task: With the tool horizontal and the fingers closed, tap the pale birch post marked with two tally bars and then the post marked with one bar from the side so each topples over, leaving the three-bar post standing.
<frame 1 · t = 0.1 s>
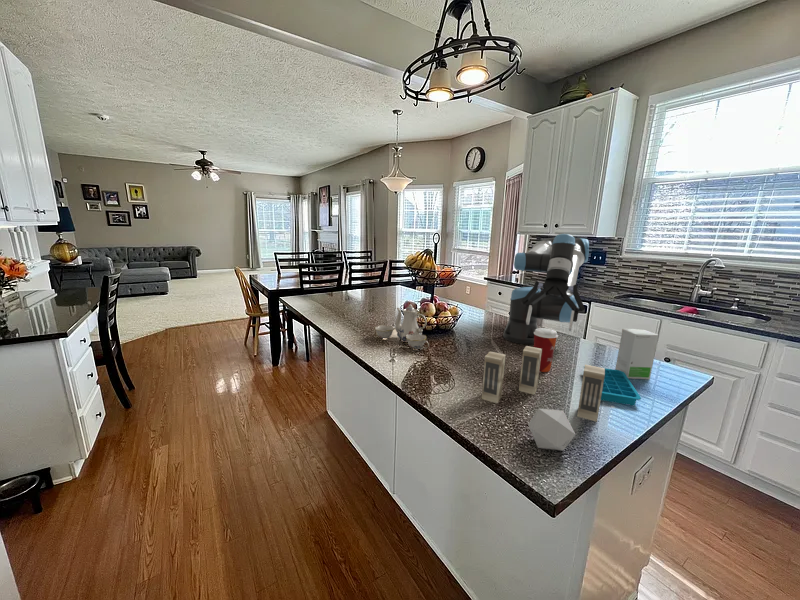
hand: (548, 326, 112), 15 cm above the countertop, tool tilted 35°, fingers open, 13 cm apart
post 2: (491, 397, 94), on the countertop
paper cup: (541, 369, 115), on the countertop
ice cube tray: (608, 389, 101), on the countertop
post 3: (587, 415, 86), on the countertop
die: (548, 445, 74), on the countertop
skincare box: (631, 375, 111), on the countertop
chinaware: (404, 342, 139), on the countertop
post 1: (528, 389, 99), on the countertop
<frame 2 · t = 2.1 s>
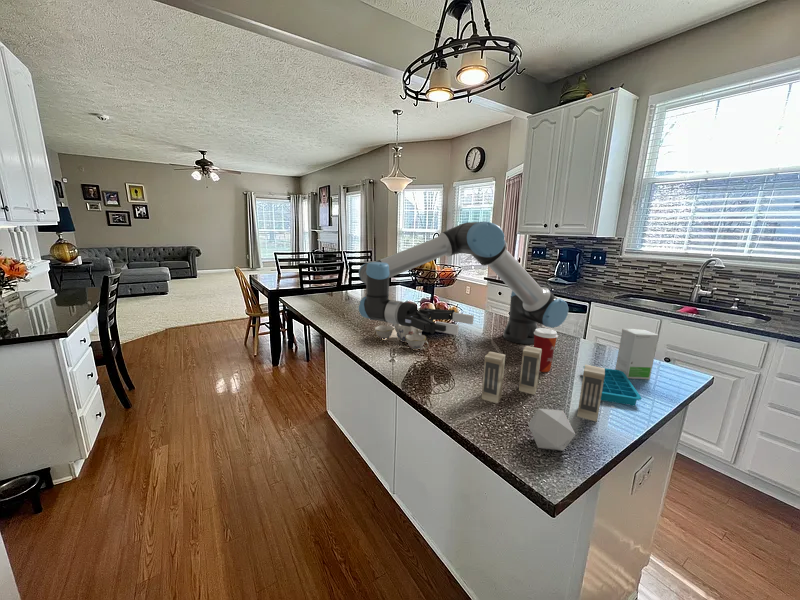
hand: (465, 324, 94), 20 cm above the countertop, tool horizontal, fingers open, 12 cm apart
nothing on the countertop moved.
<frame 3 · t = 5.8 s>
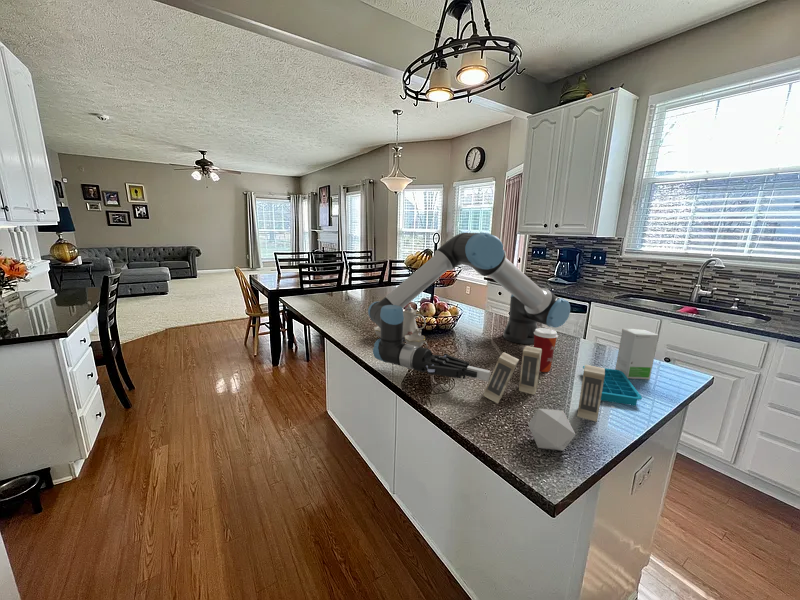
hand: (489, 376, 93), 7 cm above the countertop, tool horizontal, fingers closed
post 2: (492, 396, 94), point 1 cm above the countertop, tilted 16°, touching gripper
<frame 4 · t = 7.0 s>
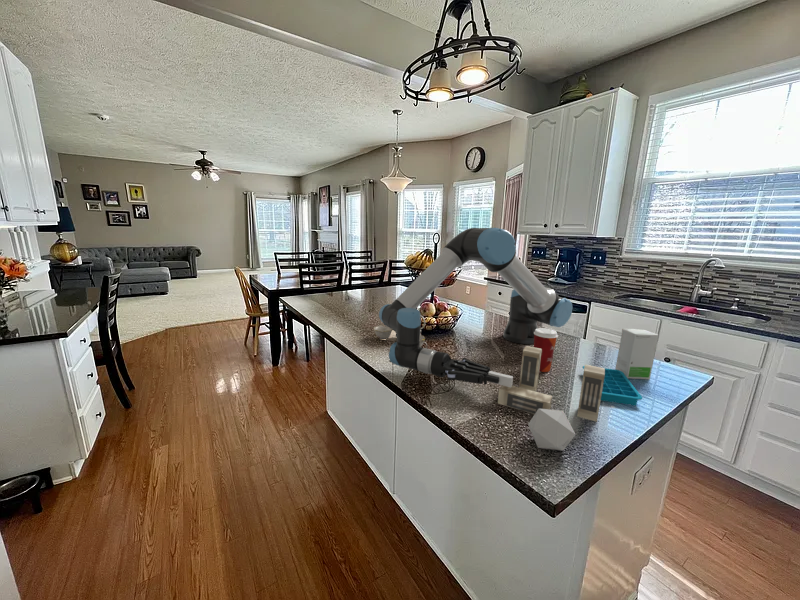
hand: (511, 381, 90), 6 cm above the countertop, tool horizontal, fingers closed
post 2: (500, 393, 93), point 2 cm above the countertop, tilted 90°
everything else where it was.
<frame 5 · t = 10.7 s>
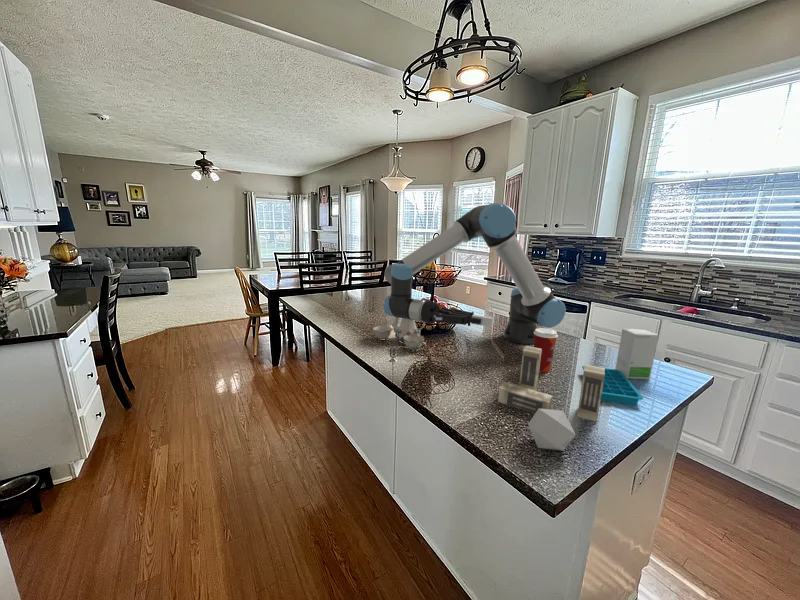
hand: (492, 322, 101), 19 cm above the countertop, tool horizontal, fingers closed
post 2: (501, 392, 93), point 2 cm above the countertop, tilted 90°
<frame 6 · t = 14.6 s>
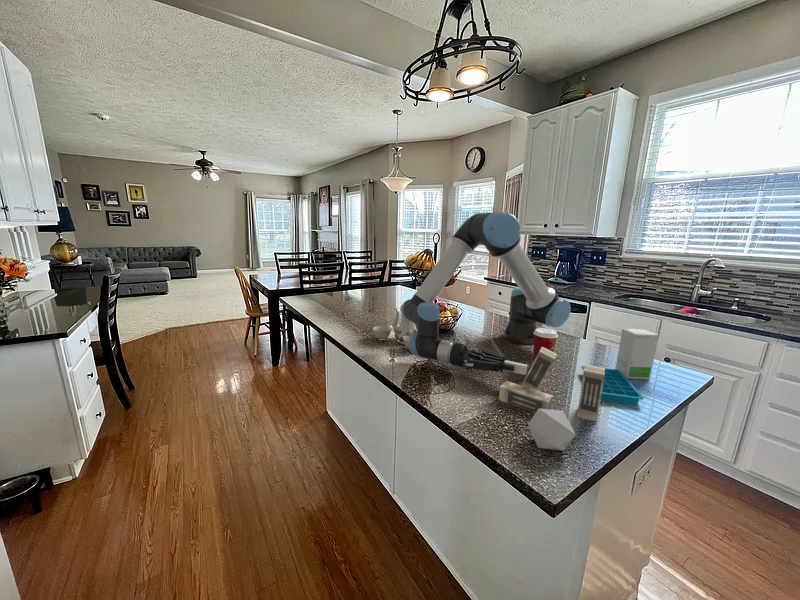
hand: (526, 369, 97), 7 cm above the countertop, tool horizontal, fingers closed
post 2: (502, 390, 94), point 2 cm above the countertop, tilted 90°
post 1: (529, 388, 99), point 1 cm above the countertop, tilted 18°, touching gripper
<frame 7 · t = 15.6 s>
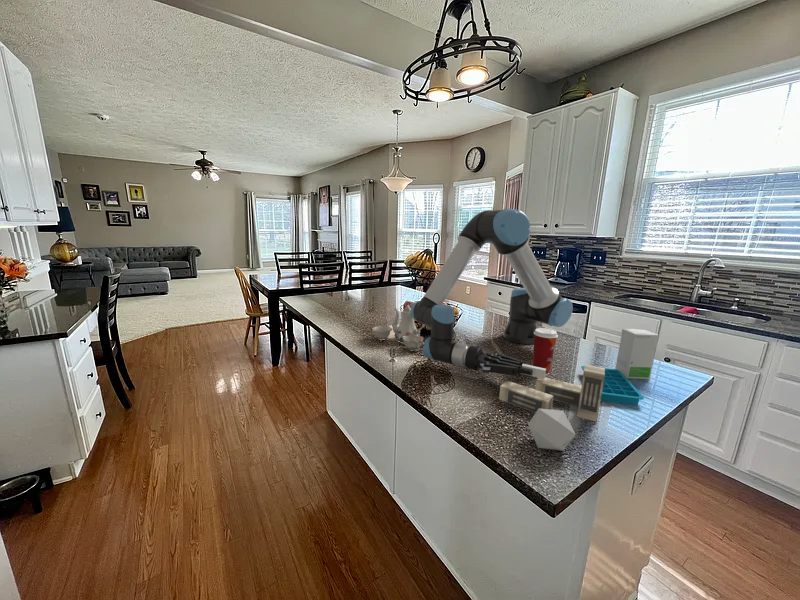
hand: (545, 373, 95), 6 cm above the countertop, tool horizontal, fingers closed
post 1: (536, 385, 98), point 2 cm above the countertop, tilted 90°
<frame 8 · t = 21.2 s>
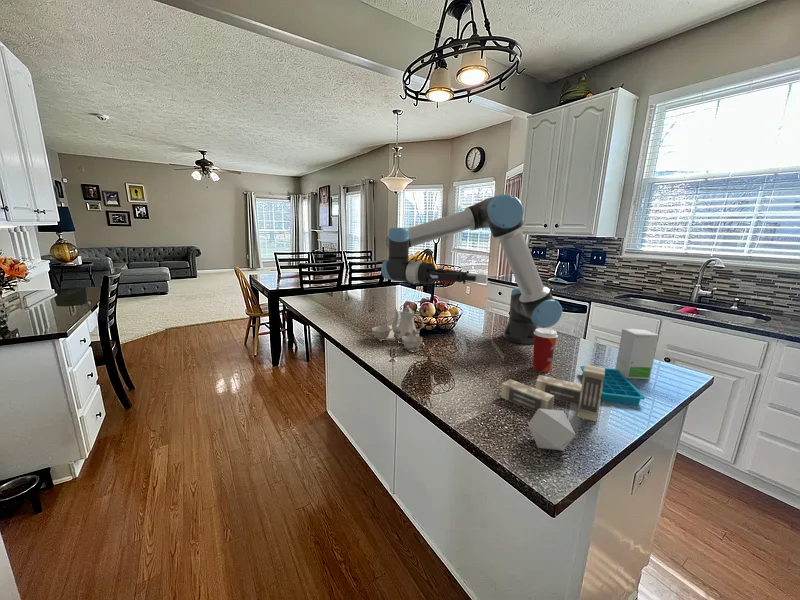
hand: (486, 279, 104), 32 cm above the countertop, tool horizontal, fingers closed
post 2: (505, 388, 96), point 2 cm above the countertop, tilted 90°
at the end: post 2 tilted 90°; post 1 tilted 90°; post 3 tilted 0° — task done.
